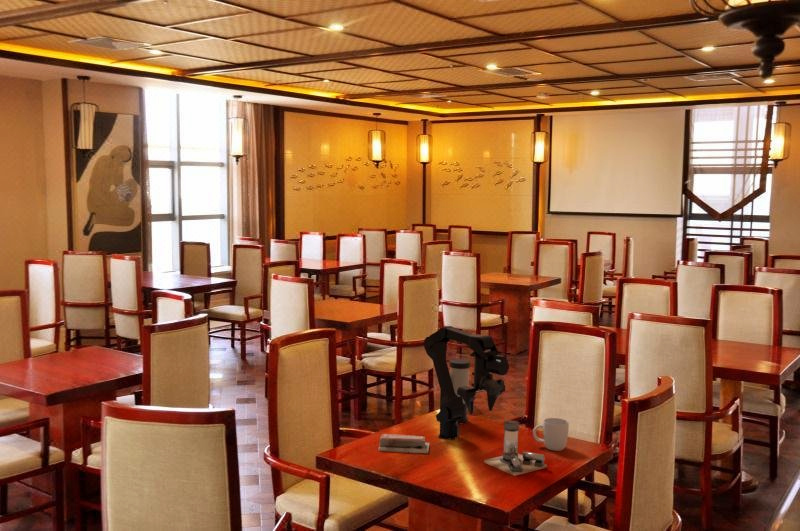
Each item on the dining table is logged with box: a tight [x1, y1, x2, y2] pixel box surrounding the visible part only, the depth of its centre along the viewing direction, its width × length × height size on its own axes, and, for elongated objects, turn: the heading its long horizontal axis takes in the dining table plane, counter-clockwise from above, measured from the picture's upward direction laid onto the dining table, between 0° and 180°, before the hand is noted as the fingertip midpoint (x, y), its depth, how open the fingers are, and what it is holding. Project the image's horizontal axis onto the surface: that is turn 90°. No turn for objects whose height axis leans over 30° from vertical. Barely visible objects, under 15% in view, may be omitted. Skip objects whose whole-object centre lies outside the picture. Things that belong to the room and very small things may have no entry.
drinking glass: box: [502, 420, 520, 462], centre depth 262 cm, size 5×5×13 cm
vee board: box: [483, 453, 548, 477], centre depth 260 cm, size 15×15×1 cm
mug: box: [532, 417, 570, 452], centre depth 279 cm, size 13×9×10 cm
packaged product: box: [378, 433, 430, 454], centre depth 276 cm, size 18×5×10 cm
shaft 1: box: [508, 454, 523, 472], centre depth 254 cm, size 7×4×4 cm, turn 3°
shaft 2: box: [522, 451, 546, 467], centre depth 259 cm, size 7×4×4 cm, turn 67°
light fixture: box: [439, 358, 471, 424], centre depth 310 cm, size 12×11×25 cm
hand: (480, 412), depth 277 cm, fingers open, 9 cm apart
